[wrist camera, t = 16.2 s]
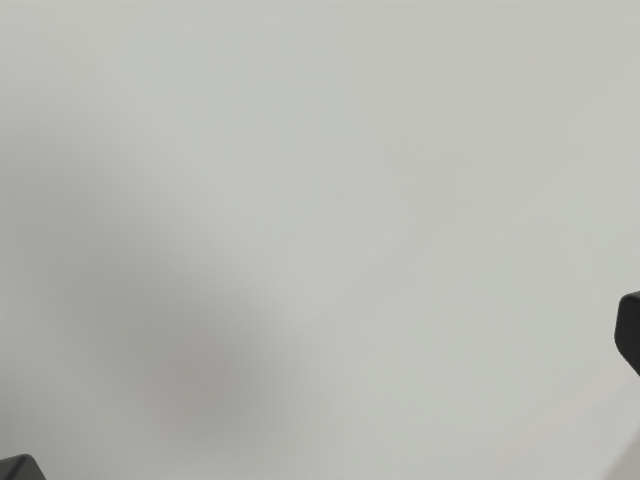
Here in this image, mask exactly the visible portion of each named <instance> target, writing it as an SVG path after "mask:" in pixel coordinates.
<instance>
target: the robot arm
mask: <svg viewBox="0 0 640 480" xmlns="http://www.w3.org/2000/svg"><path fill="white" fill-rule="evenodd" d="M614 338H615V343H616V346H617V348H618V350H619V352H620V353H621V355H622V356H623V357H624V358H625V360H626V361H627V362H628V363H629V364H630V366H631V367H632V368H633V369H634V370H635V371H636V373H637V374H638V375H639V376H640V291H638V292H634V293H630V294H627V295H625V296H623V297H622V298H621V300H620V302H619V307H618V314H617V321H616V327H615V334H614ZM0 480H46V478H45V477H44V475H43V473H42V472H41V470H40V468H39V466H38V465H37V463H36V461H35V460H34V458H33V457H32V456H31V455H29V454H21V455H17V456H14V457H10V458H6V459H2V460H0Z"/></svg>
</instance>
